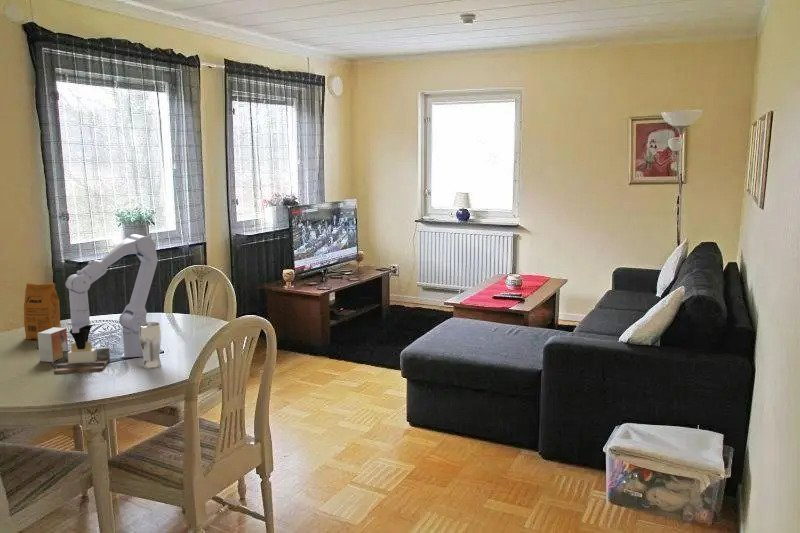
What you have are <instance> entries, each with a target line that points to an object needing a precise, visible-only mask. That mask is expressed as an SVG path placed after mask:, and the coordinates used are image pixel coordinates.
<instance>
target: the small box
mask: <svg viewBox="0 0 800 533" xmlns="http://www.w3.org/2000/svg"><path fill="white" fill-rule="evenodd" d="M67 333H68V331H67V327H61V328H56V327H53V328H51V329H48V330H45V331H42V332H39V333H38V340H37V343H38V355H39V362H47V363H54V361H55V362H56V360H57V361H59V360H61V359H60V358H62V359H63V350H69V346H68V334H67ZM58 359H59V360H58Z"/></svg>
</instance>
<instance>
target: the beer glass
mask: <svg viewBox="0 0 800 533" xmlns="http://www.w3.org/2000/svg"><path fill="white" fill-rule="evenodd" d="M139 326H140V327H139V338H140V345H141V349H142V353H143V357H142V358H143V360H142V368H143V369H145V370H152V369H153V370H154V369H158V368H161V367H162V361H161V358H160V353H161V352H160V351H161V345H162V332H161V331H162V330H161V323H159V322H156V321H149V322H148V321H147V323H142V324H140V325H139Z"/></svg>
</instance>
